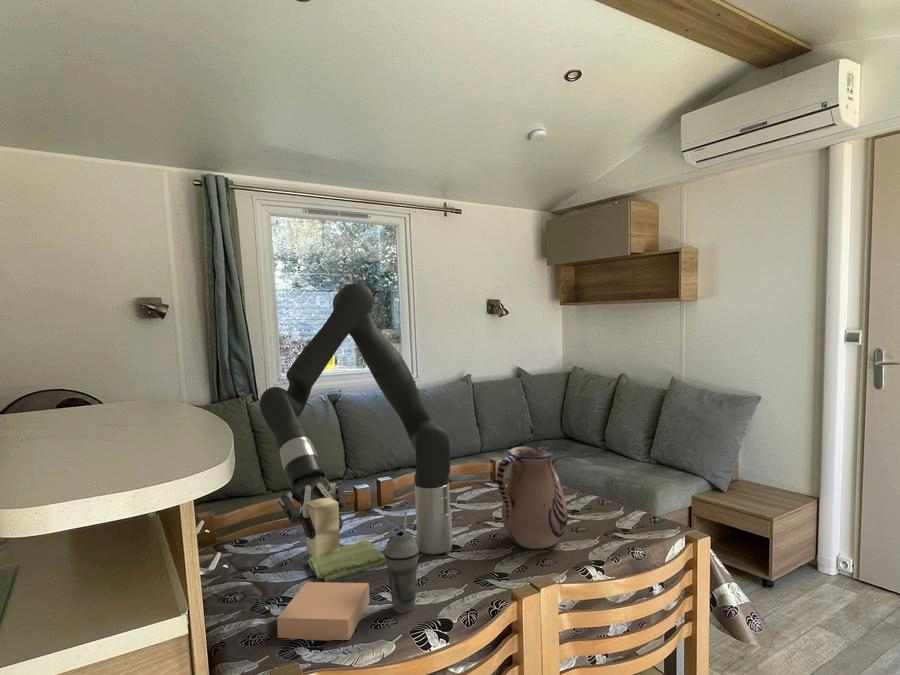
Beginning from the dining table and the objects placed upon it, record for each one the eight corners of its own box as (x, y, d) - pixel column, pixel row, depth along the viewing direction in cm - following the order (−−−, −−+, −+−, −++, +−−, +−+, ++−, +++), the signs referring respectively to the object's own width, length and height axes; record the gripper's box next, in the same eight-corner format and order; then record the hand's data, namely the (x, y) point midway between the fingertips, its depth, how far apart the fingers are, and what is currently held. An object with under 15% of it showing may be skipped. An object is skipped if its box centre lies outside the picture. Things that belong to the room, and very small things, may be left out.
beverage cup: (387, 599, 108) (383, 507, 108) (421, 597, 108) (417, 505, 108) (385, 618, 100) (381, 519, 100) (421, 615, 101) (417, 516, 101)
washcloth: (305, 565, 127) (304, 552, 127) (370, 548, 136) (369, 536, 136) (318, 586, 116) (318, 572, 116) (389, 566, 125) (388, 553, 125)
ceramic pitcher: (581, 540, 135) (577, 447, 135) (537, 568, 119) (533, 464, 119) (527, 525, 147) (523, 440, 147) (481, 549, 131) (477, 455, 131)
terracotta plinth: (369, 601, 107) (368, 583, 107) (348, 641, 93) (348, 619, 93) (307, 600, 109) (306, 582, 109) (277, 639, 95) (277, 618, 95)
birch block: (329, 544, 105) (327, 496, 105) (340, 551, 101) (338, 502, 101) (306, 551, 102) (304, 502, 102) (316, 559, 98) (314, 508, 98)
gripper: (272, 459, 103) (296, 533, 93) (336, 447, 112) (364, 515, 102) (264, 479, 107) (287, 553, 97) (327, 467, 116) (353, 533, 106)
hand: (326, 533), depth 100 cm, fingers closed on birch block, 5 cm apart
